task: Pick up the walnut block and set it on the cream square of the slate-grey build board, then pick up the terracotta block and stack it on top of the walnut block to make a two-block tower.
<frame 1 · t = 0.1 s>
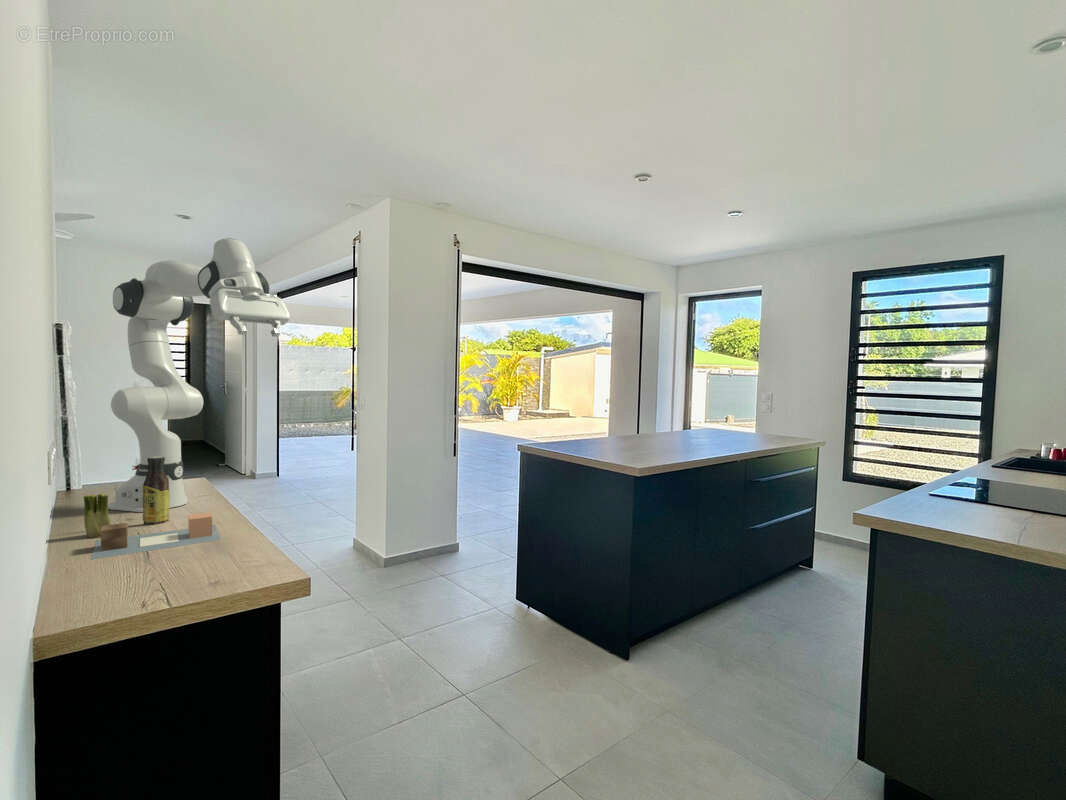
hand: (260, 334, 145), 54 cm above the counter, tool tilted 30°, fingers open, 8 cm apart
fennel bulb: (98, 539, 141), on the counter
terracotta block: (200, 534, 143), point 1 cm above the counter, touching build board
sauce bottle: (156, 526, 154), on the counter
build board: (159, 544, 138), on the counter
walnut block: (114, 546, 133), point 1 cm above the counter, touching build board
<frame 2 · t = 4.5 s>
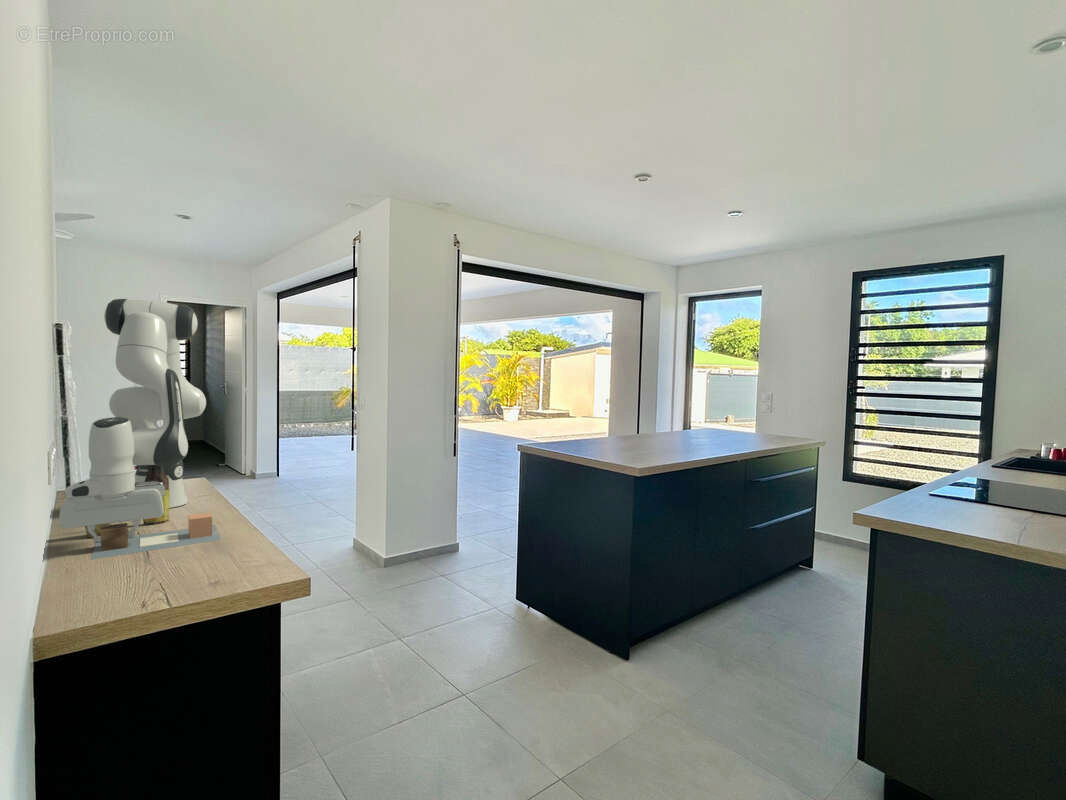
hand: (114, 540, 132), 3 cm above the counter, tool pointing down, fingers closed on walnut block, 5 cm apart
walnut block: (115, 546, 133), point 1 cm above the counter, touching build board, gripper
everything else where it was.
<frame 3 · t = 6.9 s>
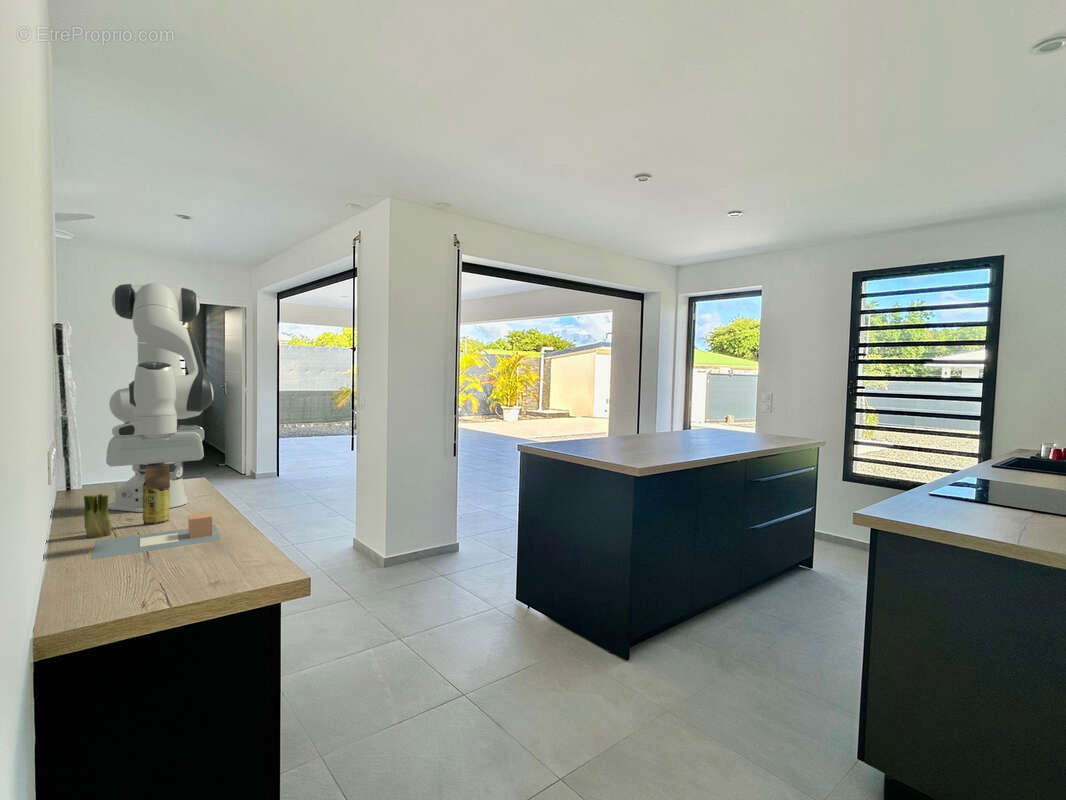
hand: (157, 480, 137), 16 cm above the counter, tool pointing down, fingers closed on walnut block, 5 cm apart
walnut block: (157, 486, 137), point 15 cm above the counter, touching gripper
everything else where it was.
when the fingers open (4 cm above the counter, at t = 9.4 s): walnut block drops 1 cm, resting on build board.
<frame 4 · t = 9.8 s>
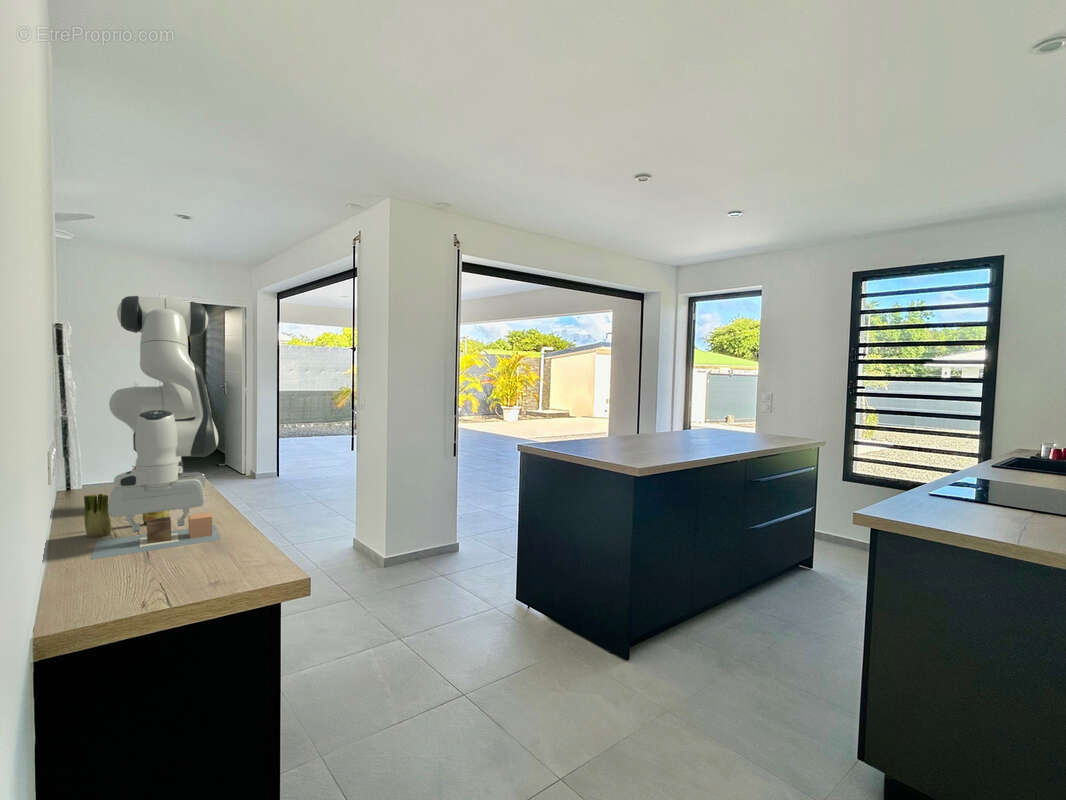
hand: (159, 528, 138), 4 cm above the counter, tool pointing down, fingers open, 8 cm apart
walnut block: (159, 539, 138), point 1 cm above the counter, touching build board
everything else where it was.
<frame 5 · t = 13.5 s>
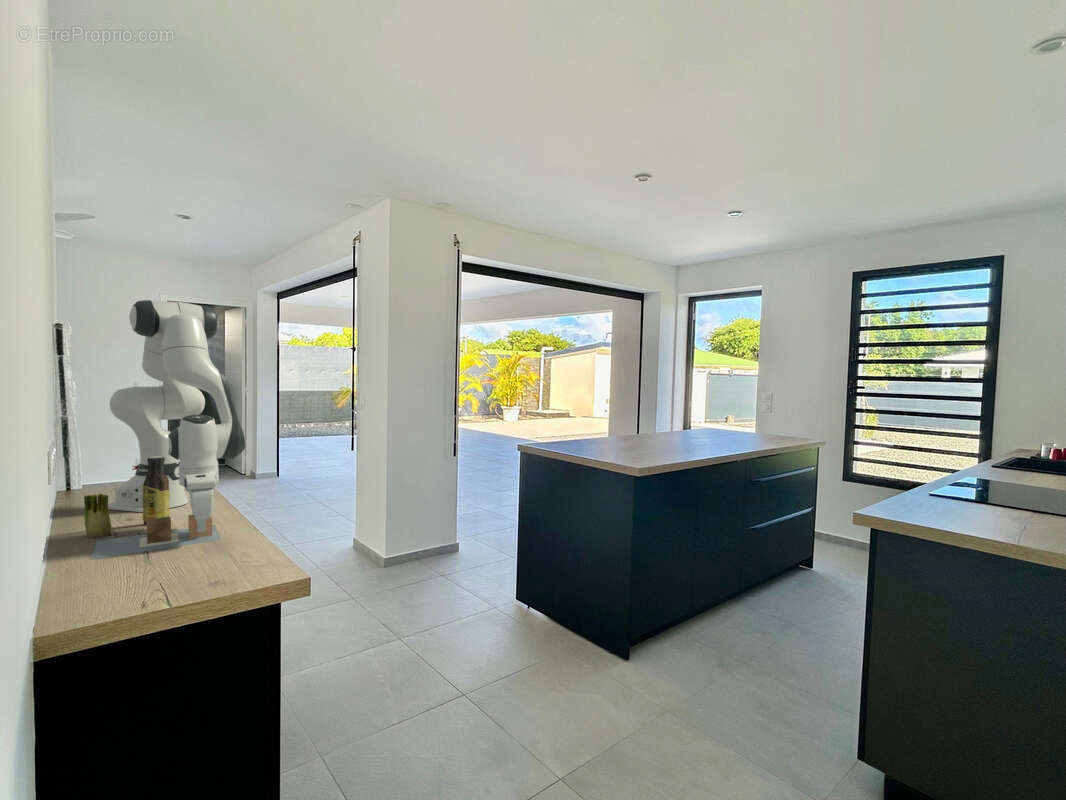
hand: (200, 528, 143), 3 cm above the counter, tool pointing down, fingers closed on terracotta block, 5 cm apart
terracotta block: (200, 534, 143), point 1 cm above the counter, touching build board, gripper
everything else where it was.
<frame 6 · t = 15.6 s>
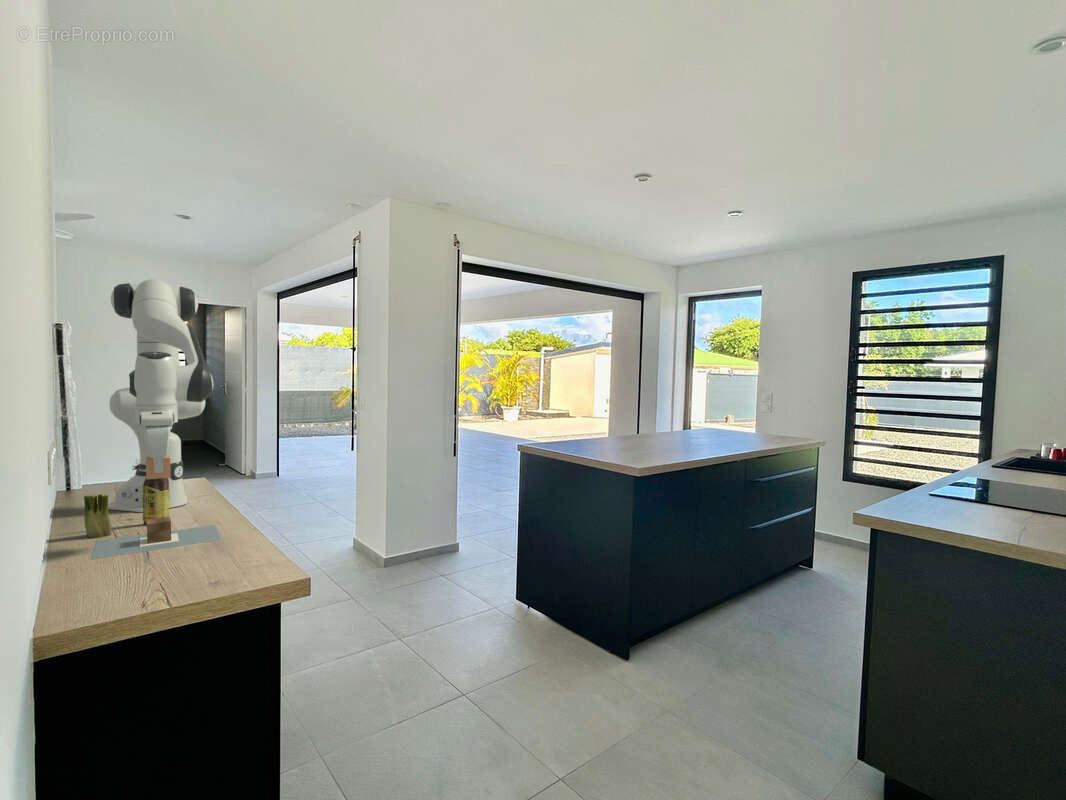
hand: (158, 470, 137), 19 cm above the counter, tool pointing down, fingers closed on terracotta block, 5 cm apart
terracotta block: (158, 476, 137), point 17 cm above the counter, touching gripper
everything else where it was.
when the fingers open (9 cm above the counter, at t = 17.9 s): terracotta block drops 1 cm, resting on walnut block.
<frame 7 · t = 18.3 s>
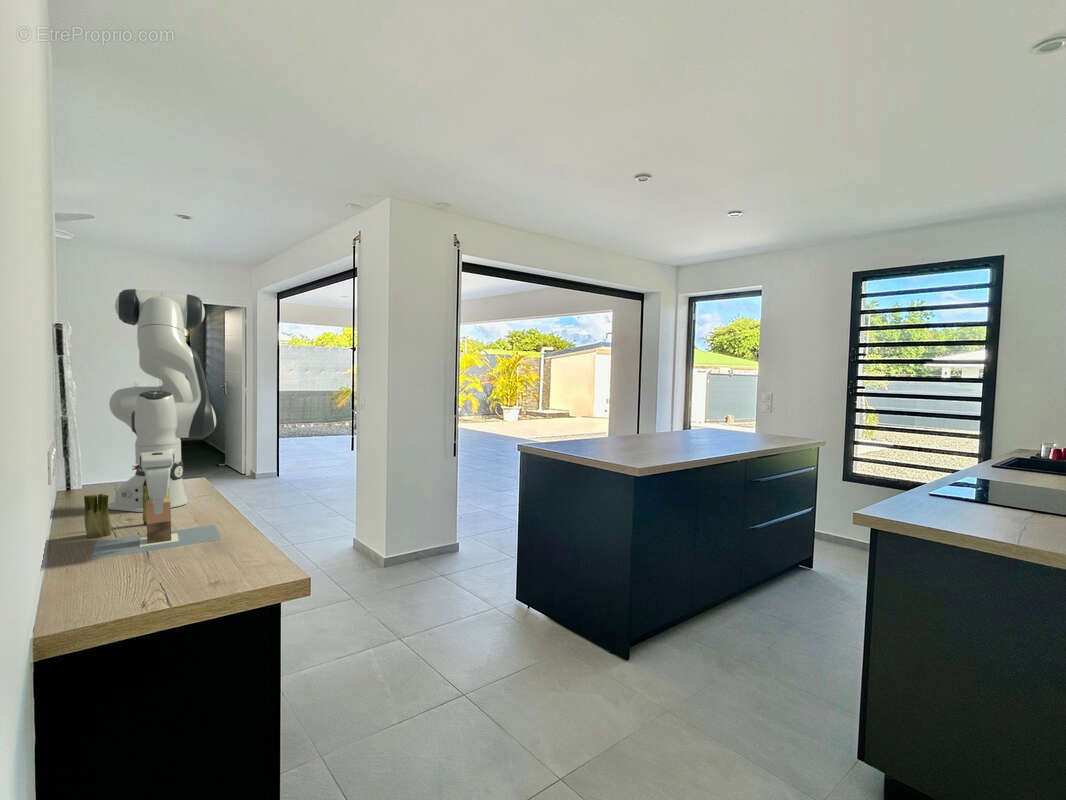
hand: (158, 509, 137), 9 cm above the counter, tool pointing down, fingers open, 8 cm apart
terracotta block: (158, 520, 137), point 6 cm above the counter, touching walnut block
walnut block: (159, 539, 138), point 1 cm above the counter, touching build board, terracotta block
everything else where it was.
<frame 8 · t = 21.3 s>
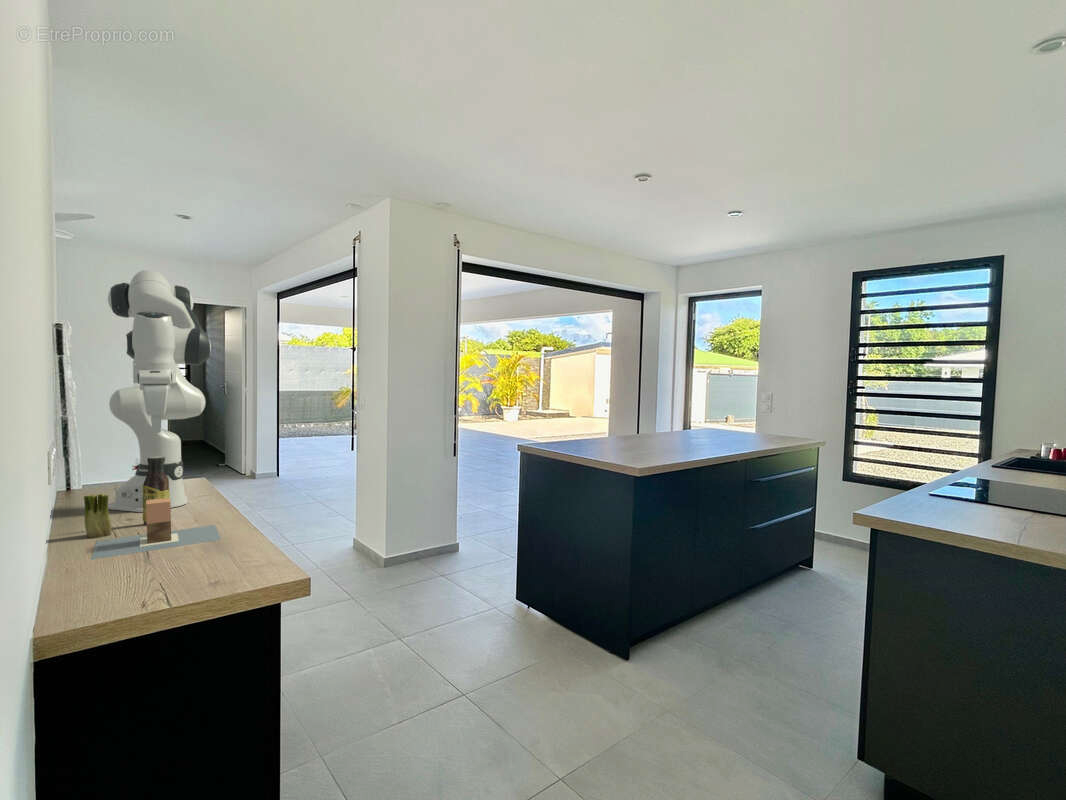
hand: (156, 431, 136), 29 cm above the counter, tool pointing down, fingers open, 8 cm apart
nothing on the counter moved.
at the end: walnut block 0.0 cm off-centre on the build board, point 1.2 cm above the build board's base; terracotta block 0.1 cm off-centre on the walnut block, point 5.0 cm above the walnut block's base; terracotta block tilted 0° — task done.
